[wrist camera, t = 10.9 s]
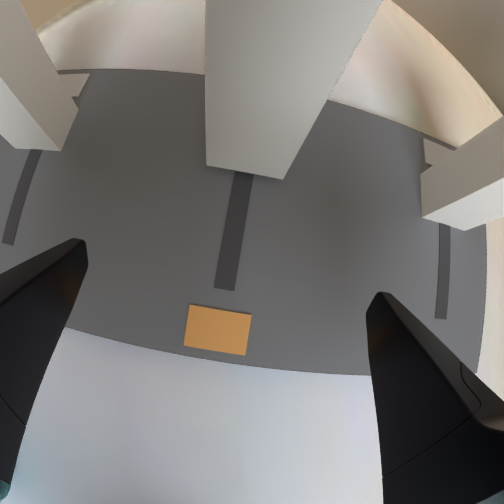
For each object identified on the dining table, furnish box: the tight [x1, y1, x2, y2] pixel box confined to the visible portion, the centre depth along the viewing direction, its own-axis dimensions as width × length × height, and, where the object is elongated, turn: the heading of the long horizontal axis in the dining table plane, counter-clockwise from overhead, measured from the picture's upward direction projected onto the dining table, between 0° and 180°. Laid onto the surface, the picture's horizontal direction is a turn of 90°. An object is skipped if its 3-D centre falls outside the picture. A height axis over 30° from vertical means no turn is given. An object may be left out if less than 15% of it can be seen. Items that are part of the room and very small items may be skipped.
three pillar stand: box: [0, 0, 504, 376], centre depth 10 cm, size 16×35×13 cm, turn 81°
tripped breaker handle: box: [205, 0, 383, 180], centre depth 10 cm, size 3×4×12 cm
